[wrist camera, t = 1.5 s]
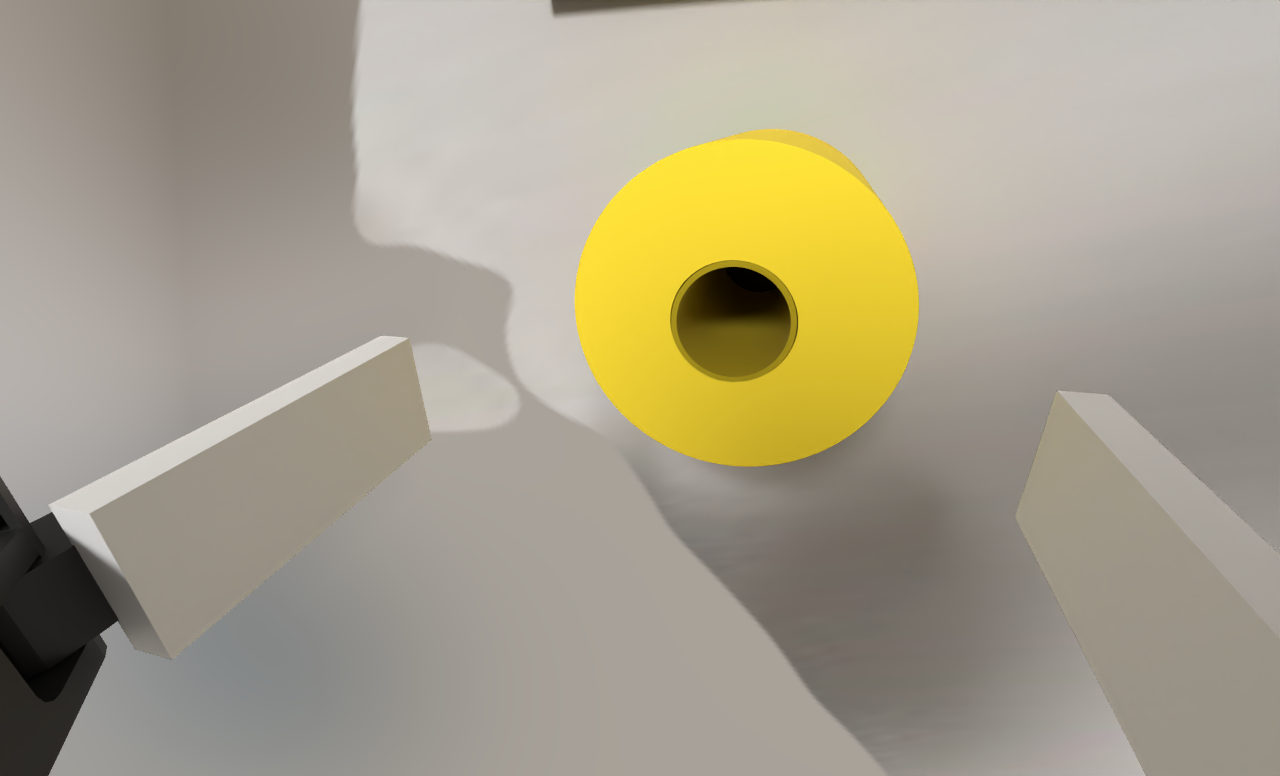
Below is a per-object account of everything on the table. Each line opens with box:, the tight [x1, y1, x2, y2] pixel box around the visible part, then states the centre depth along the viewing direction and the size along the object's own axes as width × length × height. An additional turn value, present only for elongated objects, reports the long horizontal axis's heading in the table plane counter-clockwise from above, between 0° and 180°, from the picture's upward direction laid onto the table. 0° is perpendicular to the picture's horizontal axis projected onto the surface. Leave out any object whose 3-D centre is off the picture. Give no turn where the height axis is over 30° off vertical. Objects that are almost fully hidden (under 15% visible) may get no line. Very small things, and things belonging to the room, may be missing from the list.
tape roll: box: [575, 129, 919, 467], centre depth 21 cm, size 10×10×9 cm
